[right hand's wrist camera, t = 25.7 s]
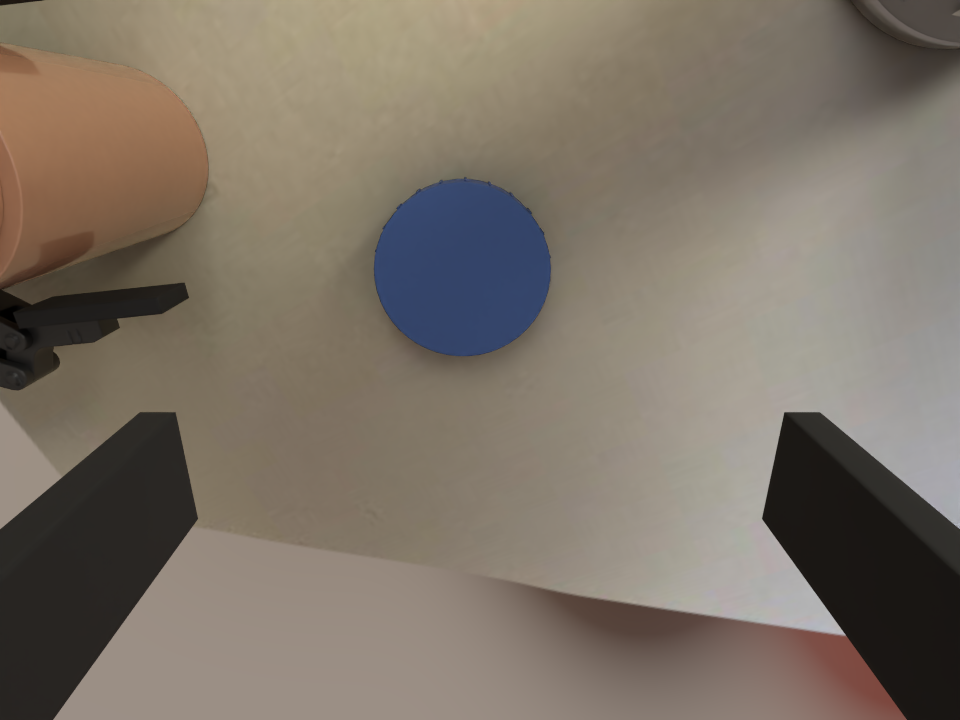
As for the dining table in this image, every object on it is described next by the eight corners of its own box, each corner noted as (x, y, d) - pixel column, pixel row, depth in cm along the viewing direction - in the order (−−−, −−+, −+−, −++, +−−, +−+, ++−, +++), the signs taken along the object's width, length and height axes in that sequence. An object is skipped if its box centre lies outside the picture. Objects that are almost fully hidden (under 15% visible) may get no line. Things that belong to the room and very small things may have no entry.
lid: (471, 374, 36) (471, 389, 33) (344, 273, 33) (336, 282, 31) (581, 257, 33) (589, 265, 31) (453, 138, 31) (451, 139, 29)
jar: (38, 41, 29) (-420, -53, 14) (216, 90, 30) (-37, 51, 15) (39, 215, 32) (-338, 288, 17) (201, 254, 33) (-22, 358, 18)
